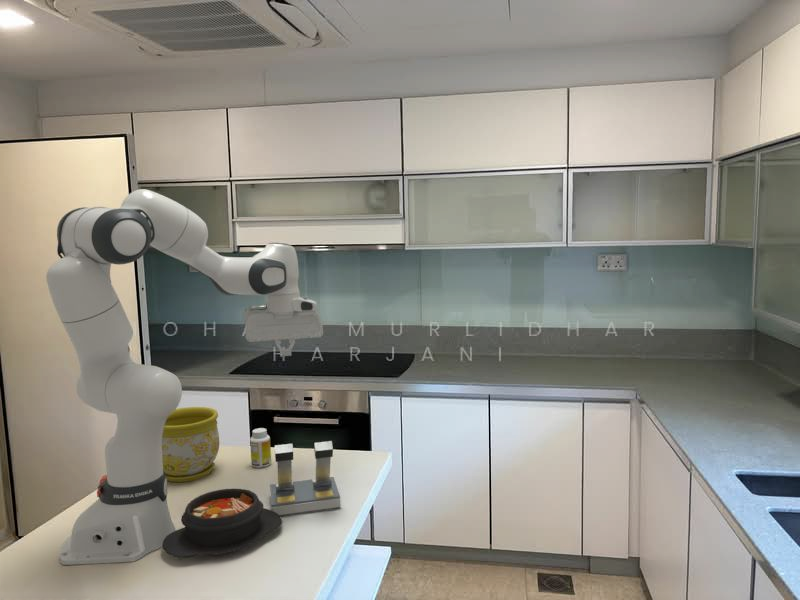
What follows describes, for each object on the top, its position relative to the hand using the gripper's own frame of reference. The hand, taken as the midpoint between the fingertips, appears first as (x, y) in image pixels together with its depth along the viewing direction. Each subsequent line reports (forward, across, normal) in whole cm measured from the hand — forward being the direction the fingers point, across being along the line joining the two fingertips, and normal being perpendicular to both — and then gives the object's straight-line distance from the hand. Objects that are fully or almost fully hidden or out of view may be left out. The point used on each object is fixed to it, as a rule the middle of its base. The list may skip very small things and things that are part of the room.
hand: (285, 355), depth 159 cm
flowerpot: (+33, -28, +10) cm, 45 cm away
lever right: (+29, +6, -18) cm, 35 cm away
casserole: (+33, -16, -31) cm, 48 cm away
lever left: (+29, -2, -18) cm, 34 cm away
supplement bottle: (+33, -8, +10) cm, 36 cm away
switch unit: (+33, +2, -18) cm, 38 cm away
